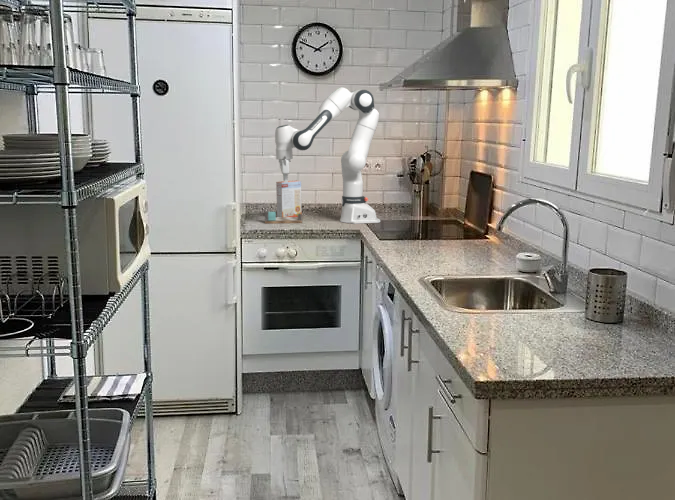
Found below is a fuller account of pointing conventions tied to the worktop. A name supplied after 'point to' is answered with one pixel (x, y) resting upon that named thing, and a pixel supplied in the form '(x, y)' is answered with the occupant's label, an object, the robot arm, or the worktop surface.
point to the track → (283, 219)
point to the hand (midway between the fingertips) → (285, 181)
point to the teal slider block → (271, 216)
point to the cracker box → (288, 198)
